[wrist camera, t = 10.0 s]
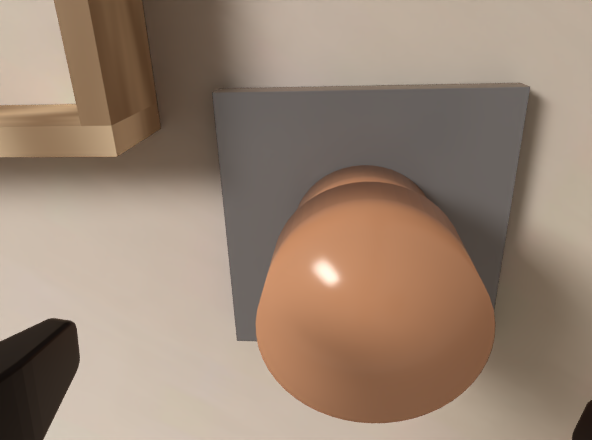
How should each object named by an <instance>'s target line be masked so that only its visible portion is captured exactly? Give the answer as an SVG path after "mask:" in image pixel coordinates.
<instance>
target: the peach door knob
mask: <svg viewBox="0 0 592 440" xmlns="http://www.w3.org/2000/svg"><path fill="white" fill-rule="evenodd" d="M256 337H257V342H258V347H259V350H260V352H261V355H262V358H263V360H264V362H265V364H266V366H267V368H268V369H269V371H270V372H271V374H272V375H273V376H274V378H275V379H276V380H277V382H278V383H279V384H280V385H281V386H282V387H283V388H284V389H285V390H286V391H287V392H289V393H290V394H291V395H292V396H293V397H295V398H296V399H298V400H299V401H301V402H302V403H304V404H305V405H307V406H309V407H311V408H313V409H315V410H317V411H319V412H321V413H324V414H327V415H329V416H332V417H336V418H340V419H343V420H348V421H354V422H363V423H389V422H398V421H403V420H408V419H412V418H416V417H419V416H422V415H425V414H428V413H430V412H432V411H435V410H437V409H439V408H441V407H443V406H444V405H446V404H448V403H449V402H451V401H453V400H454V399H455V398H457V397H458V396H459V395H460V394H462V393H463V392H464V391H465V390H466V389H467V388H468V387H469V386H470V385H471V384H472V383H473V382H474V381H475V379H476V378H477V377H478V375H479V374H480V373H481V371H482V370H483V368H484V366H485V364H486V362H487V361H488V358H489V355H490V353H491V350H492V347H493V342H494V337H495V317H494V309H493V306H492V303H491V300H490V296H489V294H488V292H487V290H486V288H485V286H484V284H483V282H482V280H481V278H480V276H479V274H478V272H477V270H476V268H475V266H474V264H473V263H472V261H471V259H470V257H469V255H468V253H467V251H466V249H465V247H464V245H463V243H462V241H461V239H460V237H459V235H458V233H457V231H456V229H455V227H454V226H453V224H452V223H451V221H450V220H449V218H448V217H447V216H446V215H445V214H444V212H443V211H442V210H441V209H440V208H439V207H438V206H436V205H435V204H434V203H433V202H431V201H430V200H429V199H427V197H426V196H425V194H424V193H423V191H422V190H421V189H420V188H419V187H418V186H417V185H416V184H415V183H414V182H412V181H411V180H410V179H409V178H407V177H405V176H404V175H402V174H400V173H398V172H396V171H394V170H391V169H388V168H384V167H379V166H373V165H360V166H351V167H347V168H343V169H340V170H337V171H334V172H332V173H330V174H328V175H326V176H325V177H323V178H322V179H320V180H319V181H317V182H316V183H315V184H314V185H313V186H312V187H311V188H310V189H309V190H308V191H307V193H306V194H305V195H304V197H303V198H302V200H301V201H300V203H299V206H298V208H297V210H296V211H295V213H294V214H293V215H292V216H291V217H290V218H289V220H288V221H287V223H286V224H285V226H284V227H283V229H282V231H281V233H280V235H279V237H278V240H277V243H276V246H275V250H274V253H273V257H272V260H271V263H270V267H269V270H268V274H267V277H266V281H265V284H264V288H263V291H262V295H261V298H260V302H259V305H258V309H257V315H256Z"/></svg>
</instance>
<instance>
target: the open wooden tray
mask: <svg viewBox="0 0 592 440" xmlns="http://www.w3.org/2000/svg"><path fill="white" fill-rule="evenodd" d="M54 3H55V8H56V12H57V17H58V22H59V26H60V31H61V36H62V40H63V45H64V50H65V54H66V59H67V64H68V68H69V73H70V78H71V82H72V87H73V92H74V96H75V101H76V104H60V105H0V157H117V156H119V155H121V154H122V153H124V152H125V151H127V150H128V149H130V148H131V147H133V146H134V145H136V144H138V143H139V142H141V141H142V140H144V139H145V138H147V137H148V136H150V135H152V134H153V133H155V132H156V131H158V130H159V129H161V125H160V118H159V112H158V105H157V98H156V91H155V84H154V78H153V71H152V64H151V57H150V50H149V44H148V37H147V30H146V23H145V16H144V10H143V3H142V0H54Z"/></svg>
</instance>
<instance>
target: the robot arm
mask: <svg viewBox="0 0 592 440" xmlns="http://www.w3.org/2000/svg"><path fill="white" fill-rule="evenodd" d="M79 361H80V354H79V345H78V336H77V328H76V325H75V323H74V322H72V321H70V320H63V319H56V318H51V319H47V320H45V321H43V322H41V323H39V324H36V325H34V326H32V327H30V328H28V329H26V330H24V331H22V332H19V333H17V334H15V335H13V336H11V337H9V338H7V339H4V340H2V341H0V440H43V439H44V437H45V435H46V433H47V431H48V429H49V427H50V425H51V423H52V421H53V419H54V417H55V414H56V412H57V410H58V408H59V406H60V404H61V402H62V400H63V398H64V396H65V394H66V392H67V390H68V388H69V386H70V384H71V382H72V380H73V378H74V376H75V374H76V371H77V369H78V366H79ZM572 440H592V400H591V401H589V402H588V404H587V405H586V407H585V409H584V411H583V413H582V415H581V417H580V419H579V421H578V423H577V425H576V427H575V429H574V432H573V436H572Z"/></svg>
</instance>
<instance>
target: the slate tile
mask: <svg viewBox="0 0 592 440" xmlns="http://www.w3.org/2000/svg"><path fill="white" fill-rule="evenodd" d="M529 92H530V87H529V86H527V85H525V84H522V83H481V84H428V85H376V86H324V87H272V88H220V89H217V90H216V91H214V92H213V93H212V95H213V105H214V115H215V125H216V135H217V145H218V155H219V165H220V175H221V185H222V195H223V205H224V215H225V225H226V235H227V245H228V255H229V265H230V275H231V285H232V295H233V305H234V315H235V325H236V335H237V341H257V337H256V315H257V309H258V305H259V302H260V298H261V295H262V291H263V288H264V284H265V281H266V277H267V274H268V270H269V267H270V263H271V260H272V257H273V253H274V250H275V246H276V243H277V240H278V237H279V235H280V233H281V231H282V229H283V227H284V226H285V224H286V223H287V221H288V220H289V218H290V217H291V216H292V215H293V214H294V213H295V211H296V210H297V208H298V206H299V203H300V201H301V200H302V198H303V197H304V195H305V194H306V193H307V191H308V190H309V189H310V188H311V187H312V186H313V185H314V184H315V183H316V182H317V181H319V180H320V179H322V178H323V177H325V176H326V175H328V174H330V173H332V172H334V171H337V170H340V169H343V168H347V167H351V166H360V165H373V166H379V167H384V168H388V169H391V170H394V171H396V172H398V173H400V174H402V175H404V176H405V177H407V178H409V179H410V180H411V181H412V182H414V183H415V184H416V185H417V186H418V187H419V188H420V189H421V190H422V191H423V193H424V194H425V196H426V197H427V199H429V200H430V201H431V202H433V203H434V204H435V205H436V206H438V207H439V208H440V209H441V210H442V211H443V212H444V214H445V215H446V216H447V217H448V218H449V220H450V221H451V223H452V224H453V226H454V227H455V229H456V231H457V233H458V235H459V237H460V239H461V241H462V243H463V245H464V247H465V249H466V251H467V253H468V255H469V257H470V259H471V261H472V263H473V264H474V266H475V268H476V270H477V272H478V274H479V276H480V278H481V280H482V282H483V284H484V286H485V288H486V290H487V292H488V294H489V296H490V300H491V303H492V306H493V309H494V308H495V301H496V295H497V289H498V283H499V277H500V271H501V264H502V258H503V252H504V246H505V240H506V234H507V227H508V221H509V215H510V209H511V203H512V197H513V190H514V184H515V178H516V172H517V166H518V159H519V153H520V147H521V141H522V135H523V129H524V122H525V116H526V110H527V104H528V98H529Z"/></svg>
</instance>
